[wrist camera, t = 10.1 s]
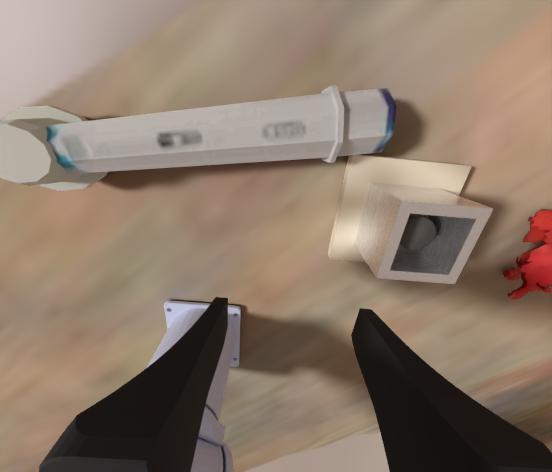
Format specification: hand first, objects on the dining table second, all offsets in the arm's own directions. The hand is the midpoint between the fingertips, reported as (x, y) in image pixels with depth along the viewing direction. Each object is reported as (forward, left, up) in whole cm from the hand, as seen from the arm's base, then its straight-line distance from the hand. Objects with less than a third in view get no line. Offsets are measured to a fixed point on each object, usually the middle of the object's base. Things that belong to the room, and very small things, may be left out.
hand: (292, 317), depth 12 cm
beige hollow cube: (+3, -9, -8) cm, 12 cm away
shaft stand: (+3, -9, -9) cm, 13 cm away
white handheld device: (+8, +7, -10) cm, 15 cm away
